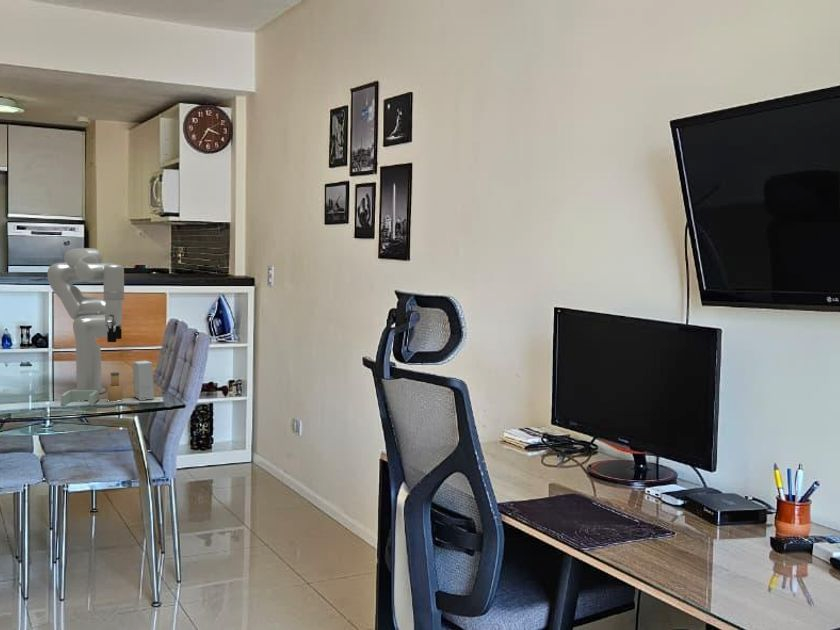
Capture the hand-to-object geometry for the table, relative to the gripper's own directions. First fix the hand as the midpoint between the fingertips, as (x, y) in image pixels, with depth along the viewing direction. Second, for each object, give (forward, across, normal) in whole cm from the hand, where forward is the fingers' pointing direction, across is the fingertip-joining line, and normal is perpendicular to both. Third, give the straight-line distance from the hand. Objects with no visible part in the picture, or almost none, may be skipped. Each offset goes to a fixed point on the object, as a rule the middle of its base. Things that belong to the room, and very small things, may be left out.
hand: (114, 340), depth 347 cm
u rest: (+24, +5, -12) cm, 27 cm away
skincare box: (+24, -4, +10) cm, 26 cm away
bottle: (+24, 0, 0) cm, 24 cm away
